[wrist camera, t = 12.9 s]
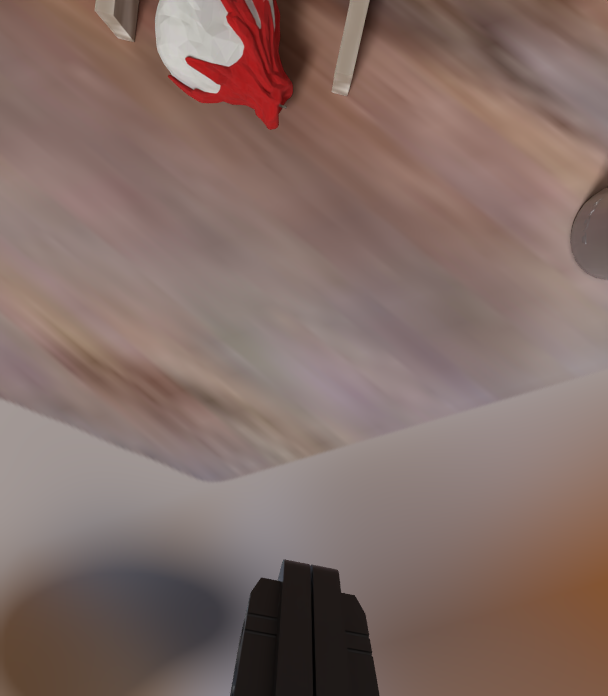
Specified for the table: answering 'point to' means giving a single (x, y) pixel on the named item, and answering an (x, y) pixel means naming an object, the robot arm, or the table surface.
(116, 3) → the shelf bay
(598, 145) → the table surface
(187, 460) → the table surface
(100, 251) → the table surface
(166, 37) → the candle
